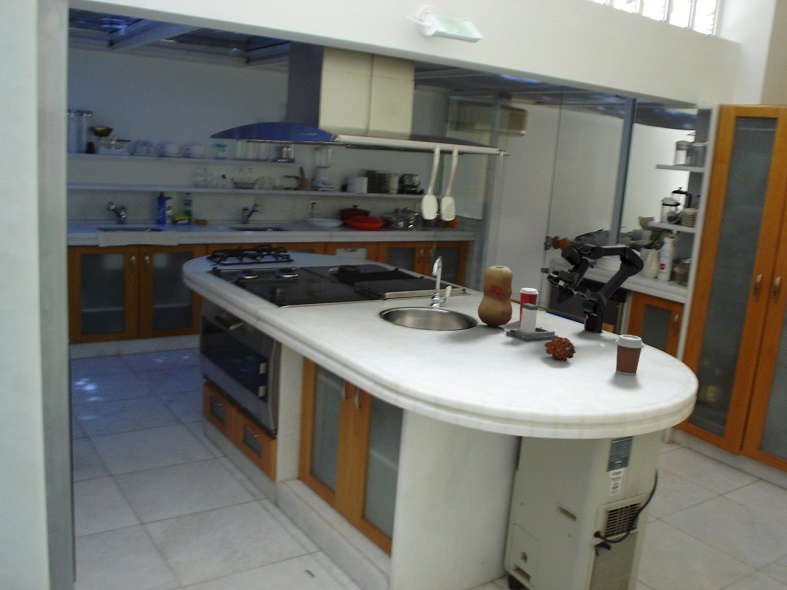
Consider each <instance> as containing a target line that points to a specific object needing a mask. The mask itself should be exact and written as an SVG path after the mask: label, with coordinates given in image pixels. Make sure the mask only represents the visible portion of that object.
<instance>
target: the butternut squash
mask: <svg viewBox="0 0 787 590" xmlns="http://www.w3.org/2000/svg"><path fill="white" fill-rule="evenodd" d="M513 277H514V275H513V272H512V270H511V269H510V268H509V267H508V266H506V265H492V266H489V267H488V268H487V269H485V272H484V276H483V283H482V289H483V296H482V299H481V301H480V303H479V305H478V306H477V307H478V308H477V315H478V318H479V320H480V321H481V322H482V323H484V324H485V325H487V326H488V327H492V328H499V327H501V326H505V325H507V324H508V323H509V322H510V321H511V320H512V318H513V317H512V316H513V305H512V301H511V297H512V294H513V288H512V287H513V286H512V283H513Z"/></svg>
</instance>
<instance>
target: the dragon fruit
mask: <svg viewBox="0 0 787 590" xmlns="http://www.w3.org/2000/svg"><path fill="white" fill-rule="evenodd" d="M544 347H545V348H544V349H545V350H544V351H545V353H546V354H547V355H551V356H552V359H553V360H558V359H559V360H560V361H563V362H564V361H566V360H567V359H572V358H573V359H574V354H576V350H575V346H574V343H572V342H571V341H570V339H569V338H568V337H562V336H558V338H557V339H550V341H546V342H545V344H544Z"/></svg>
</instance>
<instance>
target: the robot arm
mask: <svg viewBox="0 0 787 590" xmlns="http://www.w3.org/2000/svg"><path fill="white" fill-rule="evenodd" d="M613 256H618V258H619V261H620V263H619V264H620V265H619V268H618V270H617V271H616V272H615V274H613V275H612V277H611V278H609V280H607V282H606V283H605V284H604V285H603V286H602V287H601V288H600V289H599V290H598V291H597V292H594V291H590V290H589V288H587V287H584V286H583V285H579V284H580V283H581V281H582V282H583V281H584V276H585V274H586V273H587V272H588V271H589V269H591V270H592V269H593V270H594V269H595V267H594V266H595V265H594V262H593V261H596V260H600V259H602V258H604V257H613ZM560 257H561V258H562V259H563V260H564V261H565V262H566V263H567V264H569V265H570V266H572V267H571V268H568V269H567V270H564V269H560V270H559V274H558V275H556V274H554V273H549V274H548V275H547V276H546V278H545V280H547V282H548V283H549V284H550V285H552V286H554V287H557V288H558V292H557V293H558V294H557V298H556V303H555V304H556V305H558V306H560V305H561V304H563V303H564V302H566V301H567V300H570V299H571V298H573V297H576V296H577V295H576V294H580V295H581V297H582V299H583V300H582V305H581V307H582V311H583V315H586V317H585V318H584V323H583V328H584V330H585V331H586V332H589V333H590V332H591V333H603V332H604V331H603V324H604V319H607V317H608V315H609V312H608V311H607V309H606V307H607V301H608V299H609V298H610V297H612V296H613V294H614V293H615V292H616V291H617V290H618V289H619V288H620V287H621V286H622V285H623V284H624V283H626V281H627V280H628V279H629V278H631V277H633V276H636V275H637V274H639V273H640V272H641V271H643V270H644V268H645V263H644V260H643V259H642V258H641V256H639V255H638V254H637V253H636V252H635V251H634V250H633V248H632V247H631V246H629V245H625V244H620V245H604V246H603V245H602V246H599V245H594V244H589V243H584V244H582V246H581V247H579V248H578V247H577V246H576V244H573V243H570V244H569V245H568V246H566V247H565V248H564V249H562V250H561V252H560ZM588 259H589V260H588ZM590 260H593V261H590Z"/></svg>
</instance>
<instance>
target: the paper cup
mask: <svg viewBox="0 0 787 590" xmlns="http://www.w3.org/2000/svg"><path fill="white" fill-rule="evenodd" d="M519 293H520V296H519V297H520V299H519V322H520V323H521V318H522V305H523V304H526V303H530V304H533V305H536V306H537V299H538V295H539V292H538V290H537V289H536V288H531V287H530V288H529V287H522V288H521V289H520V291H519Z"/></svg>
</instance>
